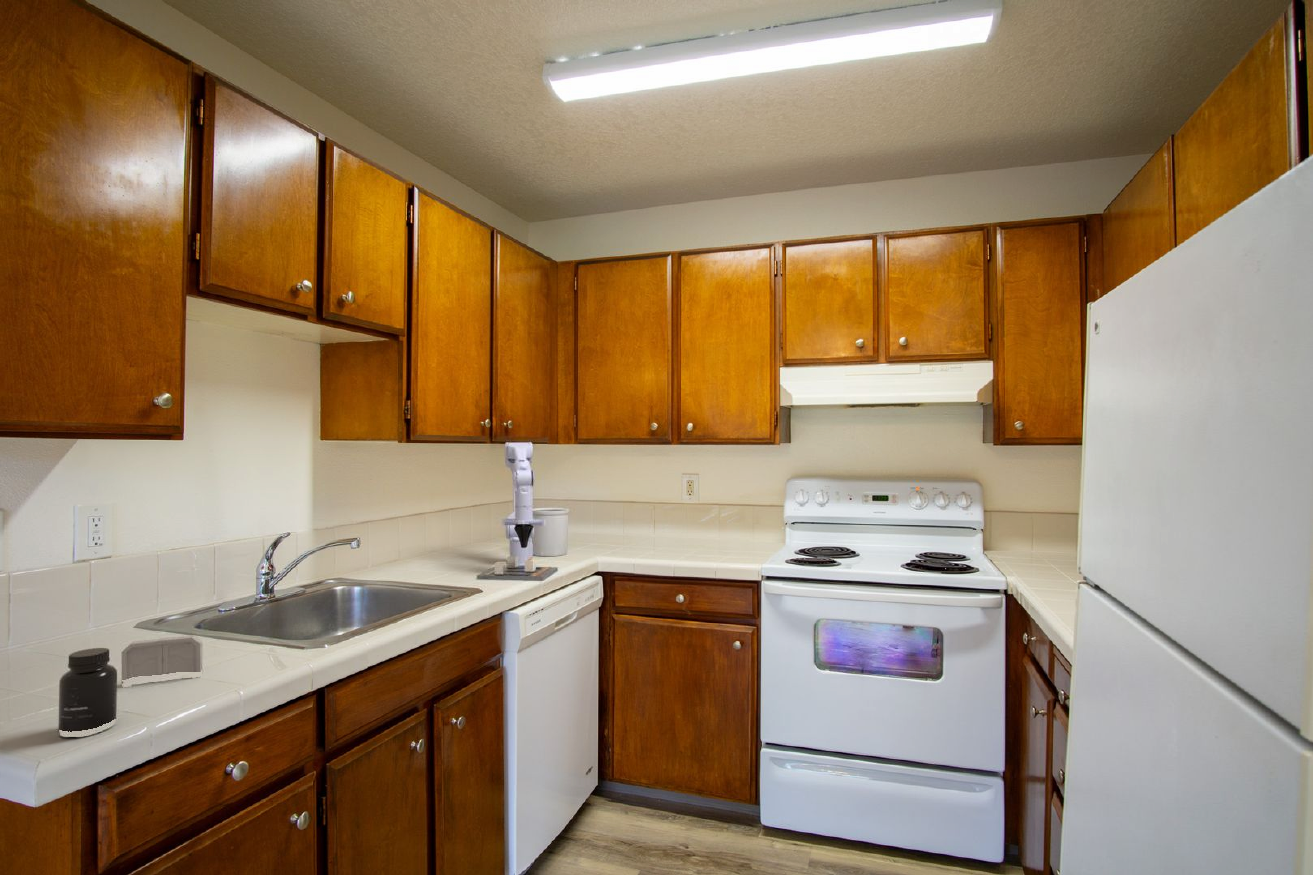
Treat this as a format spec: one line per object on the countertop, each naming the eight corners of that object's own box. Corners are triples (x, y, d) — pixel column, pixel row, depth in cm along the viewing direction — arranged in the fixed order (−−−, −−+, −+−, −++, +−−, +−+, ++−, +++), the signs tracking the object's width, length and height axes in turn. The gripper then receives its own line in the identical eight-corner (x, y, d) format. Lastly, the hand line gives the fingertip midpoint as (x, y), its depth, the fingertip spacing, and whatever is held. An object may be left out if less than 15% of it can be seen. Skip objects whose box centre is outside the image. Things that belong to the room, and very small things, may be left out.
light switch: (124, 684, 121) (124, 642, 121) (202, 674, 126) (202, 633, 126) (121, 687, 120) (121, 644, 120) (200, 677, 124) (200, 636, 124)
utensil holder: (553, 549, 269) (553, 506, 270) (576, 553, 259) (576, 508, 259) (523, 553, 259) (523, 509, 259) (546, 558, 248) (546, 512, 249)
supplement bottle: (62, 744, 97) (61, 662, 97) (55, 730, 102) (55, 652, 102) (121, 728, 102) (120, 651, 102) (112, 716, 107) (112, 642, 107)
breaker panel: (496, 569, 228) (496, 554, 228) (557, 570, 224) (557, 555, 224) (476, 579, 212) (476, 563, 212) (542, 580, 209) (542, 564, 209)
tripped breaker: (527, 569, 219) (527, 557, 219) (535, 569, 219) (535, 558, 219) (524, 571, 216) (524, 559, 216) (532, 571, 216) (532, 559, 216)
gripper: (498, 507, 215) (498, 548, 215) (541, 507, 213) (541, 549, 213) (506, 505, 222) (506, 545, 222) (547, 505, 220) (548, 546, 220)
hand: (524, 547), depth 218 cm, fingers closed
